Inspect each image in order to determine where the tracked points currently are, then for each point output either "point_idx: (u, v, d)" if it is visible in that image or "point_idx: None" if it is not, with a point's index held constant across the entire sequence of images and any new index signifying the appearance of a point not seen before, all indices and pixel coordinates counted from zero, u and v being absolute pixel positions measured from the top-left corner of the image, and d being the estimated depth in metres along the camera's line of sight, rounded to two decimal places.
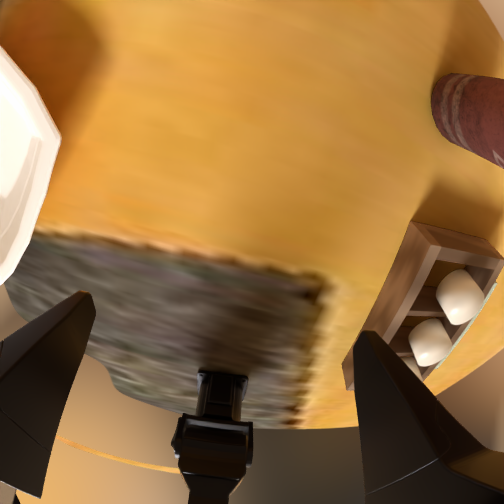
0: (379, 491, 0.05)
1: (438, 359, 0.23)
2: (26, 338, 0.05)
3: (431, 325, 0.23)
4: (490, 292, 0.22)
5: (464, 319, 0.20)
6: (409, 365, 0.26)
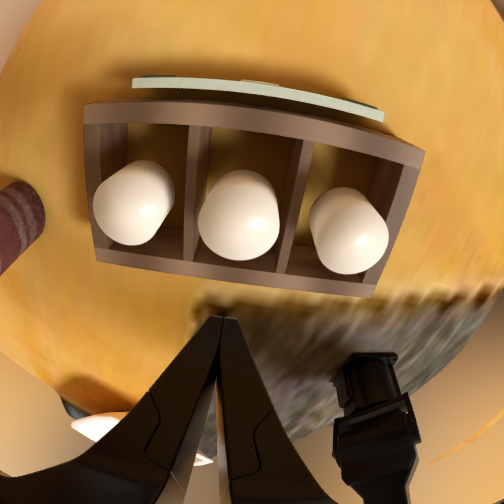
0: (221, 499, 0.05)
1: (261, 207, 0.14)
2: (183, 383, 0.06)
3: None
4: (152, 82, 0.13)
5: (147, 202, 0.14)
6: (311, 226, 0.16)
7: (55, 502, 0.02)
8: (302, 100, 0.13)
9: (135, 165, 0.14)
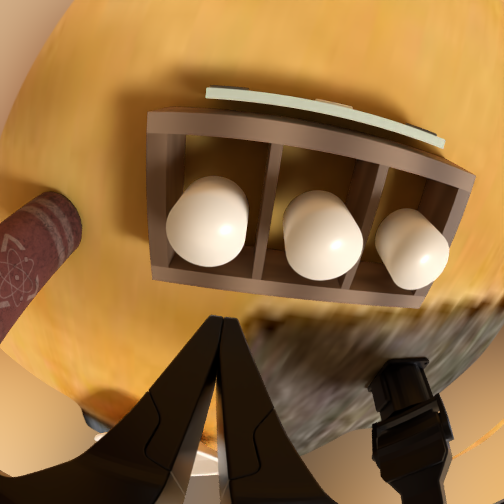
0: (221, 500, 0.05)
1: (348, 230, 0.14)
2: (183, 383, 0.06)
3: None
4: (229, 94, 0.13)
5: (233, 222, 0.14)
6: (381, 245, 0.16)
7: (55, 502, 0.02)
8: (378, 125, 0.13)
9: (211, 182, 0.15)
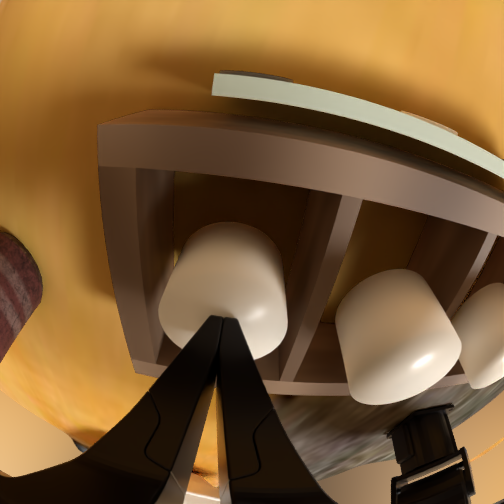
0: (221, 499, 0.05)
1: (448, 350, 0.07)
2: (183, 383, 0.06)
3: (339, 339, 0.10)
4: (262, 89, 0.06)
5: (270, 314, 0.08)
6: (462, 339, 0.09)
7: (55, 502, 0.02)
8: (494, 171, 0.07)
9: (230, 238, 0.09)
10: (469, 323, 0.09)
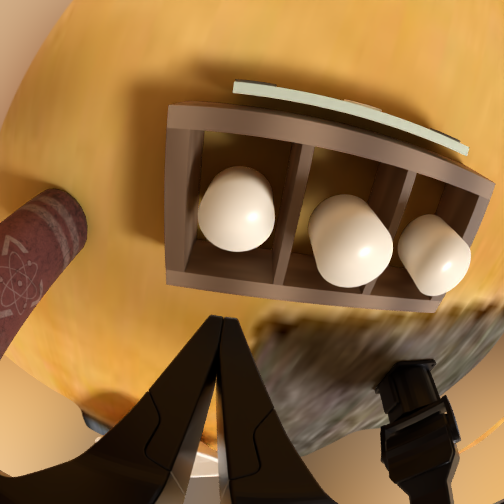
0: (221, 499, 0.05)
1: (380, 237, 0.13)
2: (183, 383, 0.06)
3: None
4: (259, 90, 0.12)
5: (264, 209, 0.15)
6: (406, 252, 0.15)
7: (55, 502, 0.02)
8: (408, 130, 0.13)
9: (241, 171, 0.15)
10: (409, 239, 0.15)
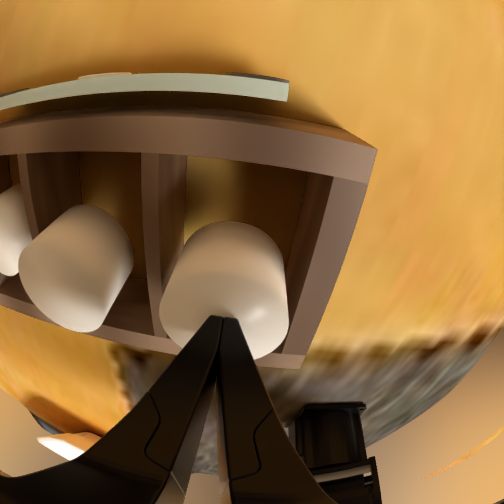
0: (221, 500, 0.05)
1: (69, 270, 0.08)
2: (183, 383, 0.06)
3: None
4: None
5: (6, 233, 0.09)
6: None
7: (55, 502, 0.02)
8: (140, 88, 0.08)
9: (7, 191, 0.10)
10: None
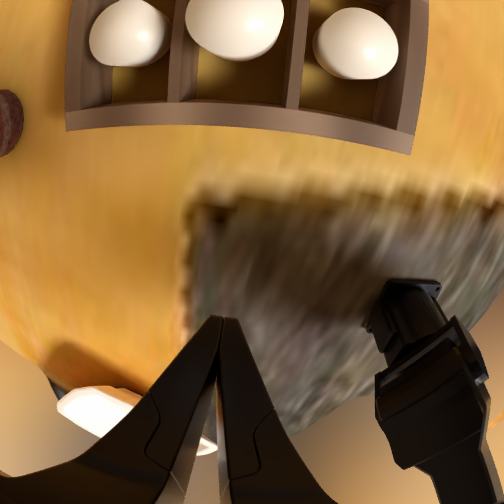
0: (221, 499, 0.05)
1: None
2: (183, 383, 0.06)
3: None
4: None
5: (146, 15, 0.10)
6: (316, 42, 0.12)
7: (55, 502, 0.02)
8: None
9: None
10: (317, 32, 0.12)
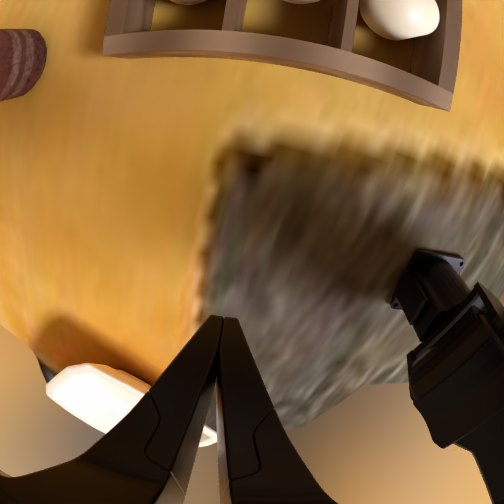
0: (221, 500, 0.05)
1: None
2: (183, 383, 0.06)
3: None
4: None
5: None
6: (365, 1, 0.10)
7: (55, 502, 0.02)
8: None
9: None
10: None
